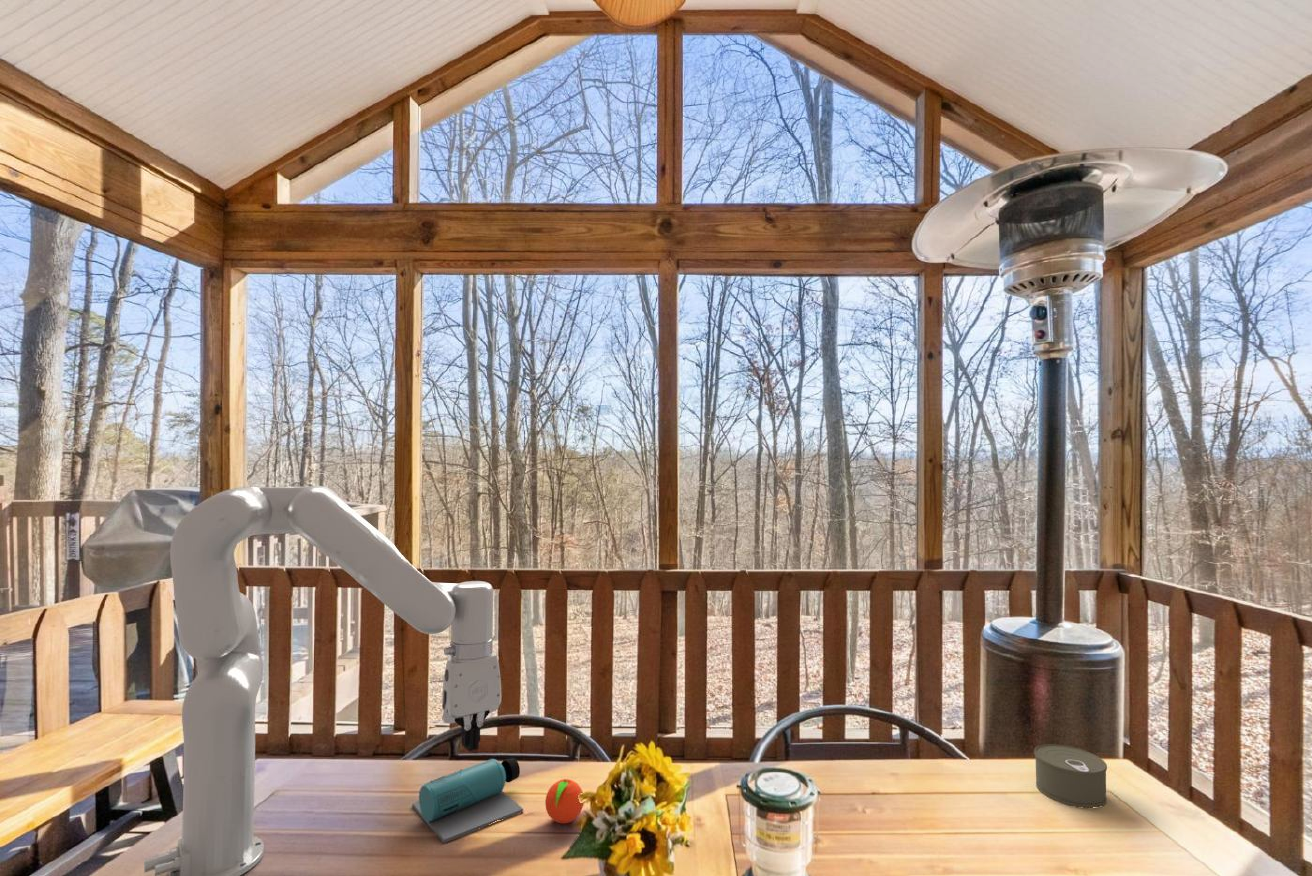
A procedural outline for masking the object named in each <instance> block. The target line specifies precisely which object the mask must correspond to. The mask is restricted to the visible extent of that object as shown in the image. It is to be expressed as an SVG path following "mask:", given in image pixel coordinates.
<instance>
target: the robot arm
mask: <svg viewBox="0 0 1312 876" xmlns="http://www.w3.org/2000/svg"><path fill="white" fill-rule="evenodd" d="M296 533H297V534H298V535H299V536H300V537H302V539H304V540H306V541H307V542H308V543H309V544H310V545H312V546H313V548H314V547H315V548H316V549H317V550H319V551H320V552H321V553H322V554H324V555H325V557H327V558H329V559H330V560H331V561H332V562H333V563H335V565H337V566H338V567H340V568H341V569H342V570H343V571H344V572H346V574H348V575H350V576H351V578H353V579H354V580H355V581H356V582H357V583H358V584H359V585H361V586H362V587H363V588H365V589H366V590H367V591H369V592H370V593H371V594H372V595H373V596H375V597H376V598H377V599H378V600H379V601H380V602H382V604H384V606H386V607H387V608H388V609H389V610H391V612H393V613H395V614H396V615H397V616H398V617H400V618H401V619H402V620H403V621H404V622H406V623H407V624H408V625H409V626H411V627H412V628H414V629H415V630H417V631H418V632H420V633H422V634H425V635H437V634H440V633H442V632H444V631H445V630H447V629H448V628H449V627H450V626H451V627H450V628H451V632H450V633H451V635H450V638H451V639H450V641H449V645H448V646H447V647H444V648H443V653H444V656H450V657H448V658H447V661H446V665H445V669H444V676H443V682H442V691H441V692H442V694H441V707H442V711H443V713H442V718H441V721H442V722H443V723H445V724H457V725H459V726H460V727H461V735H460V736H461V737H460V738H461V739H460V740H461V741H460V742H461V746H462V747H463V748H464V749H466V750H467V751H468V752H472V751H476V750H479V743H480V742H481V728H482V726H483V725H484V721H485V720H486V719H487V717H488V716H489V715H490V714H492V713H494V712H495V711H497V710H499V707H500V705H501V702H502V680H501V679H502V678H501V672H500V663H499V659H498V654H497V652H494V651H493V649H494V647H493V643H494V641H493V640H494V639H493V636H494V633H493V632H494V625H493V624H494V589H493V585H492V583H491V584H490V583H489V582H487V581H481V580H471V581H470V580H469V581H463V582H460V583H455V582H454V583H449V582H434V581H431V580H430V579H428V578H427V577H426V576H425V575H424V574H423V573H421V572H420V571H419V570H418V569H417V568H416V567H414V565H413V564H412V563H410V562H409V560H408V559H406V558H405V557H404V555H403V554H402V553H401V552H400V551H399V549H398V548H397V547H396V545H395V544H394V543H393V542H392V541H391V540H390V538H388V537H387V536H386V535H385V534H383V533H382V532H381V531H379V530H378V529H377V528H376V527H375V526H373V525H372V524H371V523H370V522H369V521H367V520H366V519H365V518H364V517H362V516H361V515H360V514H359V513H357V511H355V510H354V509H353V508H352V507H350V506H349V505H348V504H347V503H346V502H344V501H343V500H342V499H341V498H340V497H339V495H338V494H337V492H336V491H334V490H333V489H331V488H329V487H327V486H326V487H325V486H321V485H313V486H312V485H311V486H310V485H308V486H241V487H236V488H235V487H234V488H229V489H227V490H223V491H220V492H218V493H216V494H214V495H212V496H210V497H208V498H206V499H205V500H203V501H202V502H200V503H198V504H197V505H196V506H195V507H193V508H192V509H191V510H189V511H188V512H187V513H186V514H185V515H184V516H183V517H182V519H181V520H180V521H179V523H178V524H177V526H176V527H175V530H174V533H173V535H172V538H171V542H170V547H169V549H170V550H169V553H170V554H169V555H170V556H169V557H170V568H171V574H172V583H173V584H172V585H173V595H174V596H173V597H174V603H175V604H174V605H175V611H176V618H177V630H178V638H179V639H178V640H179V644H180V645H181V646H182V647H181V648H182V649H183V650H184V651H185V653H186V654H188V655H189V656H190V657H192V658H194V659H195V664H196V670H197V674H196V676H195V678H194V679H193V680H192V682H191V683H190V685H189V687H188V689H187V691H186V692H185V696H184V699H183V702H182V707H181V722H182V723H181V725H182V735H183V791H182V792H183V793H182V827H181V828H182V829H181V831H182V834H181V838H179V839H178V840H177V846H175V847H173V848H170V849H169V851H167V852H164V853H160V854H155V855H152V856H150V857H146V858H144V860H143V863H144V864H143V869H144V870H143V873H144V874H146V873H148V872H152V871H154V876H159V875H162V874H165V873H167V872H168V876H242V875H243V874H245V873H247V872H248V871H250V870H251V869H253V868H254V867H255V866H256V865H257V864H258V863H259V862H260V860H261V859H262V858H263V855H264V852H265V845H264V844H265V843H264V841H263V839H261V838H259V837H257V836H255V835H254V826H255V825H254V824H255V823H254V821H255V820H254V819H255V817H254V816H255V781H256V779H255V778H256V777H255V775H256V772H255V771H256V770H255V769H256V702H257V696H258V693H259V690H260V687H261V685H262V681H263V677H264V665H263V659H262V658H263V657H262V652H261V651H262V650H261V644H260V637H259V629H258V622H257V615H256V611H255V608H254V605H253V603H252V602H251V600H250V599H249V597H248V596H246V595H245V594H244V593H242V592H240V587H239V581H238V580H239V579H238V576H239V575H238V569H237V564H236V560H235V550H236V547H237V545H238V544H239V543H241V542H242V541H244V540H247V539H248V538H250V537H251V536H254V535H270V534H272V535H273V534H277V535H278V534H279V535H280V534H296Z"/></svg>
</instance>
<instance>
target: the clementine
mask: <svg viewBox="0 0 1312 876" xmlns="http://www.w3.org/2000/svg"><path fill="white" fill-rule="evenodd" d="M580 793H583V789H582V787H580V785H579V784H578V783H577V782H576V781H574V780H573V779H568V778H562V779H560V780H557V781H556V782H554V783H553V784H552V785H551V786H550V788H549V789H548V791H547V793H546V796H545V802H544V803H545V810H546V812H547V814H548V816H549V817H550V818H551V819H552V820H553V821H555V822H556V823H558V824H569V823H571V822H573V821H574V820H575V819H577V818H578V816H579V815H580V814H581V812H582V810H583V807H584V803H585V802H584V803H580V802H579V799H578V795H579V794H580ZM583 794H584V793H583Z"/></svg>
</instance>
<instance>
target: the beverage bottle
mask: <svg viewBox="0 0 1312 876" xmlns="http://www.w3.org/2000/svg"><path fill="white" fill-rule="evenodd" d="M520 773H521V770H520V764H519V763H518V760H517V759H516V758H514V757H511V758H506V759H504V760H502V762H500V761H499V760H497V759H495V758H490V759H488V760H485V761H484V762H481V763H477V764H475V765H472V766H469V767H467V768H465V769H459V770H457V771H454V772H453V773H450V774H446V775H443V776H441V777H438V778H436V779H432V780H431V781H428V782H426V783H424V784H423V785H422V786H421V787H420V789H419V794H418V800H419V804H420V809H421V812H422V815H423V817H424V818H425V820H426V821H433V822H434V820H435V821H436V819H438V820H439V818H443V817H444V816H445V817H446V816H448V815H450V814H452V813H454V812H456V811H458V810H459V811H460V809H465V808H467V807H469V805H472V804H474V803H476V804H477V802H479V801H481V800H483V799H485V798H488V797H490V796H492V795H495V794H498V793H500V792H501V791H503V789H504V788H505V785H506V783H511V782H513V781H515V780H516V779H518V778H519V777H520Z"/></svg>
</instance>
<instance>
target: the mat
mask: <svg viewBox="0 0 1312 876" xmlns="http://www.w3.org/2000/svg"><path fill="white" fill-rule="evenodd" d="M411 806H412V808H413V809H414V810H415V812H416V813H417V814H418V815H419V817H421V819H422V820H424V822H425V823H426V824H427V825H428V826H429V827H430V829H431V831H433V833H434V834H435V835H436V836H437V837H438V838H439V839H440V841H441V842H442V843H443V844H445V843H448V842H451V841H453V840H455V839H459V838H460V837H463V836H467V835H468V834H471V833H474V832H476V831H478V829H479V828H481V829H483V828H482V827H484V828H486V827H485V826H487V825H489V824H491V823H493V822H495V821H497V820H502V819H504V820H506V819H505V818H507V819H509V818H508V817H510V816H512V815H515V816H517V815H519V814H518V813H520V812H522V811H523V812H524V808H523V807H522V806H520V805H519V804H518V803H517V801H515V800H513V798H511V797H510V796H509V795H508V794H506V793H505V792H504V791H503V790H502V791H501V792H500V793H498V794H495V795H492V796H490V797H488V798H485V799H483V800H481V801H479V802H477V804H476V803H474V804H472V805H469V807H467V808H465V809H460V811H459V810H458V811H456V812H454V813H452V814H450V815H448V816H446V817H445V816H444V817H443V818H439V820H438V819H436V821H435V820H434V822H433V821H426V820H425V818H424V817H423V815H422V812H421V809H420V804H419V801H415V802H413V803H412V804H411ZM523 812H522V813H523ZM516 814H517V815H516ZM520 814H521V813H520ZM512 817H513V816H512ZM510 818H511V817H510ZM502 821H503V820H502ZM489 826H490V825H489ZM487 827H488V826H487ZM479 830H480V829H479Z"/></svg>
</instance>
